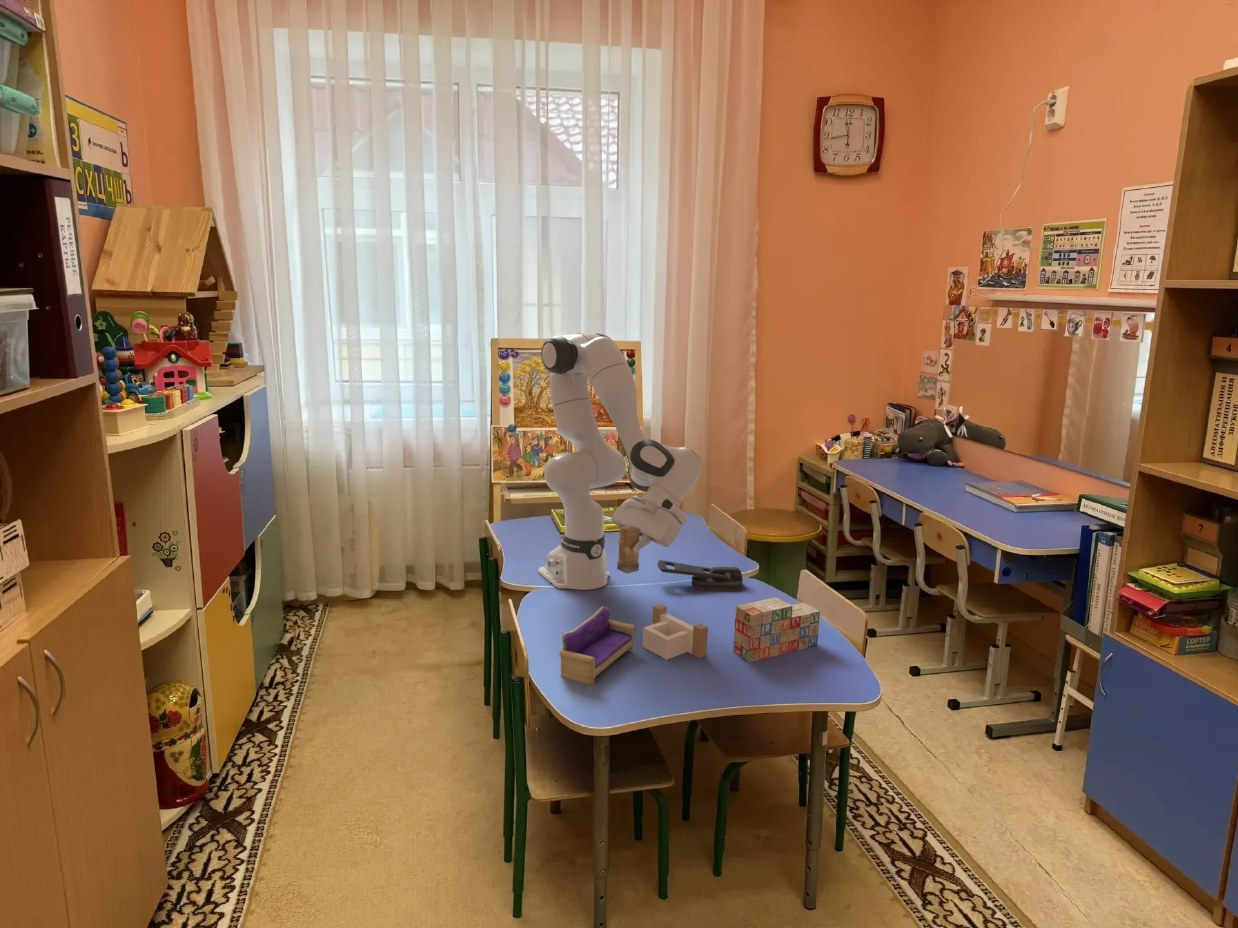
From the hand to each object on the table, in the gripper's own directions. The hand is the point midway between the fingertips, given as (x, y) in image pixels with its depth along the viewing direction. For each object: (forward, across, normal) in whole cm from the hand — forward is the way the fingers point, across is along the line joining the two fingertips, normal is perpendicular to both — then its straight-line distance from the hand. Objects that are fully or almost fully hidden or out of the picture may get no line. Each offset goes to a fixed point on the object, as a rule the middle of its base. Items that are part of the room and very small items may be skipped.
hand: (627, 548), depth 206 cm
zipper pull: (-11, -11, +43) cm, 46 cm away
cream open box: (+14, +15, +16) cm, 26 cm away
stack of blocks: (-1, +30, +32) cm, 44 cm away
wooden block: (+4, 0, +5) cm, 6 cm away
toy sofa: (+27, +11, +4) cm, 30 cm away
